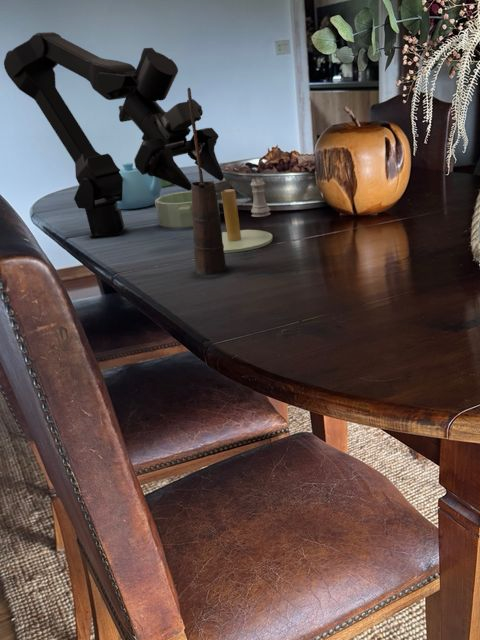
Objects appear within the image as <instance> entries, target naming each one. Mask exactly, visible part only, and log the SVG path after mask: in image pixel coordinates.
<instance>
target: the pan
mask: <svg viewBox="0 0 480 640" xmlns="http://www.w3.org/2000/svg"><path fill="white" fill-rule="evenodd" d="M216 194H217V195H218V193H217V192H216ZM218 197H219V196H217V202H218V209H219V215H220V216H221V211H220V205H219V198H218ZM154 206H155V210H156V216H157V220H158V225H159V226H161V227H164V228H165V227H166V228H189V227H193V220H192V217H193V214H192V190H190V191H189V190H187V191H181V192H175V193H168V194H165V195H162V196H161V195H160V197H159V198H157V199H156V200H155V204H154Z"/></svg>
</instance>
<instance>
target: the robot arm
mask: <svg viewBox="0 0 480 640" xmlns="http://www.w3.org/2000/svg"><path fill="white" fill-rule="evenodd" d="M58 65H59V66H61V67H63V68H65V69H67V70H68V71H71V73H74V74H76V75H78V76H79V77H82V78H84V79H85V80H86V81H88V82H89V84H90V86H91V88H92V89H93V90H94V91H95V92H96V93H98V94H99V95H100V96H101V97H102V98H104V99H105V100H108V101H115V100H121V99H124V102H123V104H122V105H119V106H118V111H119V113H118V120H119V122H121V123H124V122H125V123H126V122H130V121H131V122H133V124H134V125H135V126H136V127H137V128H138V129H139V131H141V133H142V136H141V140H142V142H141V144H140V146H139V148H138V150H137V153H136V154H135V156H134V158H133V160H134V168H137V169H138V170H139V172H140V173H141V174H142V175H144V174H148V175H149V176H154V177H157V178H160V179H162V180H165V181H168V182H170V183H173V184H172V185H175V186H177V187H179V188H182V189H184V190H186V191H192V188H191V183H192V182H191V181H190V180H189V178H188V176H187V175H186V174H185V173H184V172H183V170H181V168H180V166H179V165H178V164H177V163H176V161H175V160H174V157H178V156H182V155H188V157H189V158H190V159H191V160H193V161H194V165H196V166H198V163H197V155H196V147H195V141H194V134H192V137H191V138H190V140H188V138H187V136H189V135H190V133H191V131H192V130H191V128H190V127H192V121H191V114H190V108H189V99H187V100H186V101H182V102H178V103H177V104H175V105H173V106H172V107H171V108H170V109H169V110H168V111H165V110H164V109H163V108H162V107H161V106H160V104H159V103H158V102H157V101H161V102H162V101H164V100H166V99H167V96H168V95H169V93H170V90H171V88H172V85H173V83H174V82H175V79H176V77H177V75H178V73H179V68H178V66H177V64H176V62H174V60H173V59H172V58H169V57H168V56H167V55H164V54H162V53H161V52H157V51H156V50H155V48H153V47H143V49H142V52H141V54H140V59H139V61H138V64H137V67H135V66H133V64H131V63H128V62H124V61H120V60H116V59H108V58H103V57H100V56H98V55H96V54H94V53H92V52H91V51H89V50H86V49H85V48H82V47H81V46H79V45H76V44H75V43H73V42H71V41H69V40H67V39H65V38H63V37H62V36H61V35H60V34H59V33H56V32H53V31H48V32H47V31H46V32H36V33H35V34H33V35H32V36H31V37H30V38H29V39H28V40H27V41H24V42H23V43H21V44H19V45H17V46H16V47H14V48H13V49H10V50H8V51H7V52H6V54H5V58H4V60H3V68H4V70H5V73H6V75H7V76H8V78H9V79H10V80H11V81H12V83H13V84H14V85H15V86H16V87H17V89H18V90H19V91H21V92H22V93H24V94H25V95H26V96H28V97H29V98H31V99H33V100H34V101H35V103H36V104H37V106H38V108H39V109H40V111H41V112H42V114H43V116H44V117H45V118H46V120H47V121H48V124H49V125H50V126H51V128H52V129H53V131H54V132H55V134H56V136H57V137H58V139H59V141H60V142H61V143H62V145H63V147H64V148H65V150H66V152H67V153H68V154H69V156H70V157H71V160H72V161H73V162H74V169H75V170H74V171H75V179H76V181H77V183H78V185H79V186H78V187H77V190H76V193H75V195H74V198H73V200H74V202H75V205H76V206H77V208H78V209H84V210H85V211H84V212H85V215H86V218H87V222H88V226H89V231H90V234H89V238H91V239H92V238H103V237H110V236H111V237H112V236H119V235H121V234H122V233H123V231H124V229H125V223H124V217H123V214H122V213H123V212H122V209H118V207H117V203H116V202H117V201H122V192H123V179H122V176H121V174H120V173H119V171H121V169H120V168H119V167H118V166H117V164H116V162H115V161H114V159H113V156H111V155H110V154H109V153H103V154H101V153H100V152H97V150H96V149H95V148H94V146H93V144H92V143H91V142H90V140H89V138H88V136H87V135H86V133H85V132H84V130H83V128H82V127H81V125H80V124H79V122H78V121H77V119H76V118H75V116H74V114H73V112H72V111H71V109H70V108H69V106H68V104H67V103H66V102H65V100H64V99H63V97H62V95H61V94H60V92H59V91H58V89H57V86H56V85H57V84H56V73H55V70H54V69H55V68H56V67H57V66H58ZM192 104H193V110H194V118H195V123H196V122H199V121H200V120H201V119H202V116H203V113H204V111H203V107H202V105H201V104H199V102H197V101H196V100H195V99H194V98H192ZM196 132H197V140H198V148H199V154H200V162H201V167H200V168H201V169H202V171H205V172H206V173H207V174H208V175H210V176H211V177H213V178H215V179H216V180H218V181H219V182H223V180H224V178H225V175H224V173H223V171H222V168H221V165H220V163H219V161H218V158H217V155H216V152H215V146H216V144H217V141H218V139H219V134H218V133H217V131H215V129H214V128H213V127H205V128H200V129H196Z"/></svg>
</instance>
